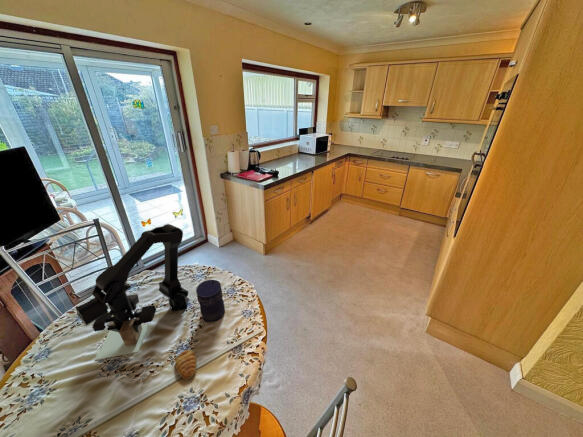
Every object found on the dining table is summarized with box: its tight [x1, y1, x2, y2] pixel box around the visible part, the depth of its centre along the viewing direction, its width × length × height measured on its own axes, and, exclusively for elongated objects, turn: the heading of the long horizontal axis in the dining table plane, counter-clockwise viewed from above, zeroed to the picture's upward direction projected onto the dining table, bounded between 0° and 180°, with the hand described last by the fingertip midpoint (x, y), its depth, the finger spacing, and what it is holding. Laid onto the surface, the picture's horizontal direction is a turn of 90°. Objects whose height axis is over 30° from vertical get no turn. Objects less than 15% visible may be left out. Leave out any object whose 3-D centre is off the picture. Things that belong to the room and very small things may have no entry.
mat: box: [94, 323, 149, 361], centre depth 89 cm, size 14×12×1 cm
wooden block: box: [119, 320, 142, 346], centre depth 88 cm, size 4×7×8 cm, turn 13°
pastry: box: [174, 349, 198, 381], centre depth 81 cm, size 9×7×4 cm
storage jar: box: [195, 279, 226, 324], centre depth 98 cm, size 10×10×15 cm
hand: (132, 332), depth 89 cm, fingers closed on wooden block, 4 cm apart
